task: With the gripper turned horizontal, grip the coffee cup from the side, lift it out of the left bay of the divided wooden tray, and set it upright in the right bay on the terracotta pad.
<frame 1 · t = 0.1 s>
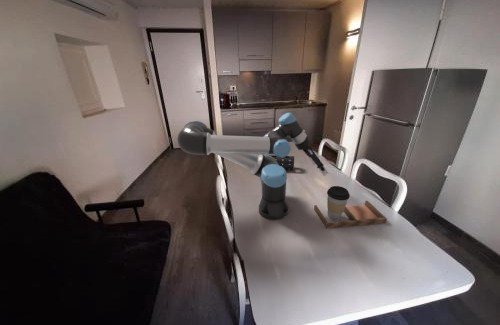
hand: (320, 168, 109), 15 cm above the table, tool tilted 35°, fingers open, 13 cm apart
coffee cup: (334, 217, 95), resting in divided wooden tray
divided wooden tray: (347, 215, 95), on the table
muzzle brake: (274, 168, 146), on the table
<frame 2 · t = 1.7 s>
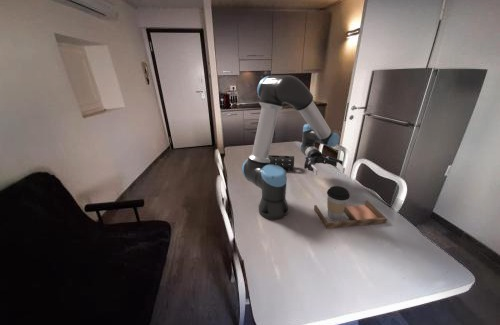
hand: (330, 171, 95), 20 cm above the table, tool horizontal, fingers open, 13 cm apart
nothing on the table moved.
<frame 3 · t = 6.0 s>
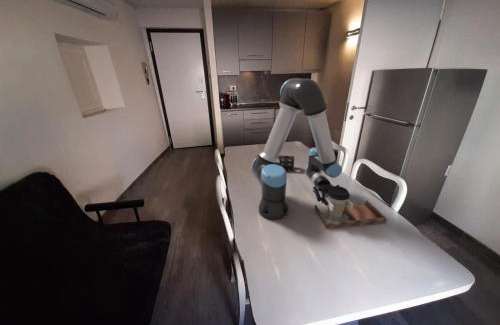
hand: (342, 207, 87), 9 cm above the table, tool horizontal, fingers closed on coffee cup, 8 cm apart
coffee cup: (334, 217, 95), resting in divided wooden tray, touching gripper
everything else where it was.
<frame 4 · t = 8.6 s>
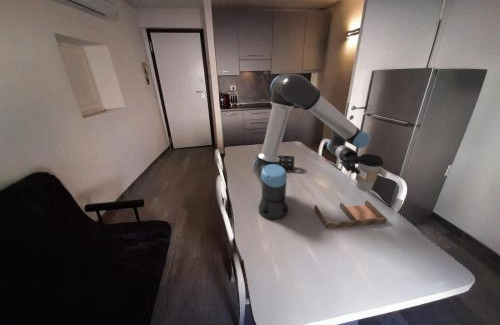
hand: (375, 175, 81), 24 cm above the table, tool horizontal, fingers closed on coffee cup, 8 cm apart
coffee cup: (364, 188, 89), point 15 cm above the table, touching gripper
everything else where it was.
when the fingers open (11 cm above the table, at t = 11.6 s): coffee cup moves 1 cm, resting on divided wooden tray.
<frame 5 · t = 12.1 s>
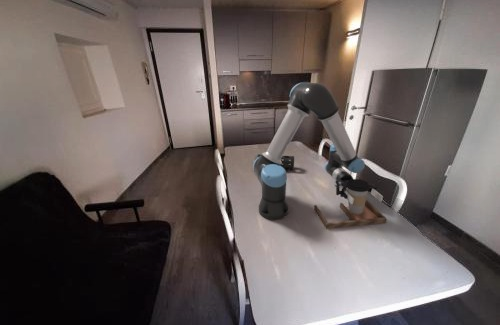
hand: (367, 200, 88), 11 cm above the table, tool horizontal, fingers open, 13 cm apart
coffee cup: (355, 211, 95), point 2 cm above the table, touching divided wooden tray, gripper
everything else where it was.
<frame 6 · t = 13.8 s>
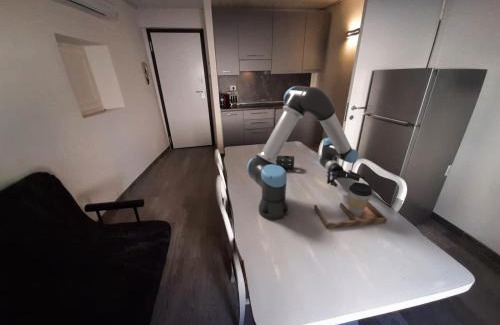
hand: (354, 187, 97), 11 cm above the table, tool horizontal, fingers open, 13 cm apart
coffee cup: (355, 213, 96), resting on divided wooden tray
everything else where it was.
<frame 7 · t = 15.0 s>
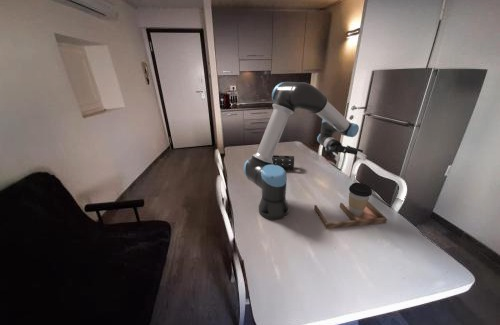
hand: (352, 158, 98), 24 cm above the table, tool horizontal, fingers open, 13 cm apart
nothing on the table moved.
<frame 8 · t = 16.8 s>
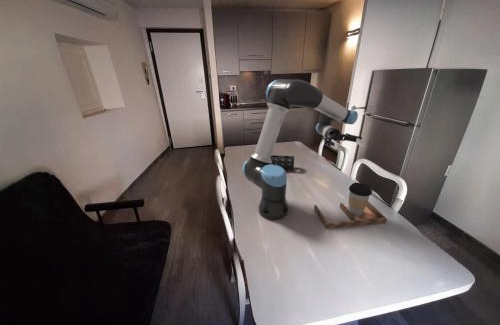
hand: (351, 145, 97), 30 cm above the table, tool horizontal, fingers open, 13 cm apart
nothing on the table moved.
at the end: coffee cup inside the target area (3.1 cm from its centre), resting on divided wooden tray; coffee cup tilted 0°; the gripper is holding nothing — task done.
